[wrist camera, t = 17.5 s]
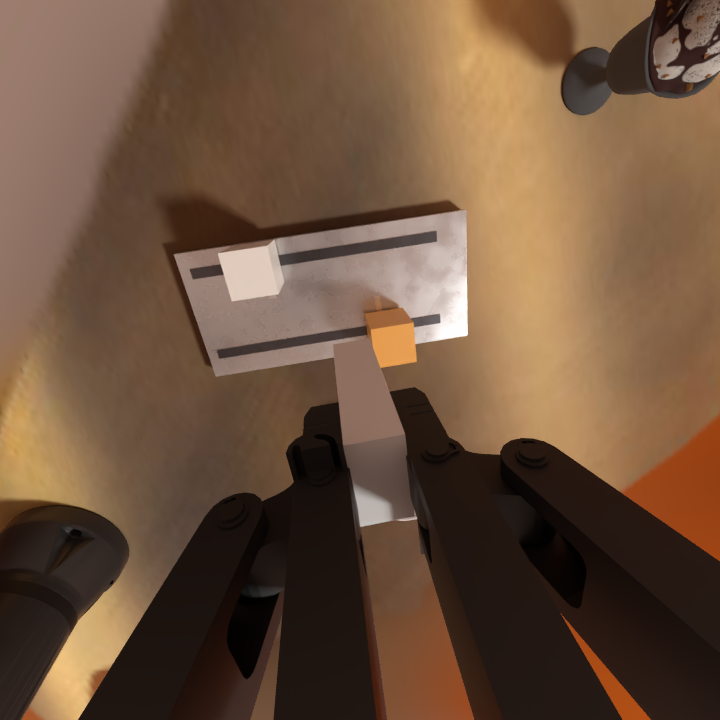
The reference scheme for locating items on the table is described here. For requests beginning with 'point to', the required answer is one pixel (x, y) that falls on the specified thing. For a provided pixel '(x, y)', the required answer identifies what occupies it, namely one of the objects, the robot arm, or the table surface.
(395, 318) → the fader
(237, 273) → the block
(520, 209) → the table surface
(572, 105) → the sundae
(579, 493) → the robot arm
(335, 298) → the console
